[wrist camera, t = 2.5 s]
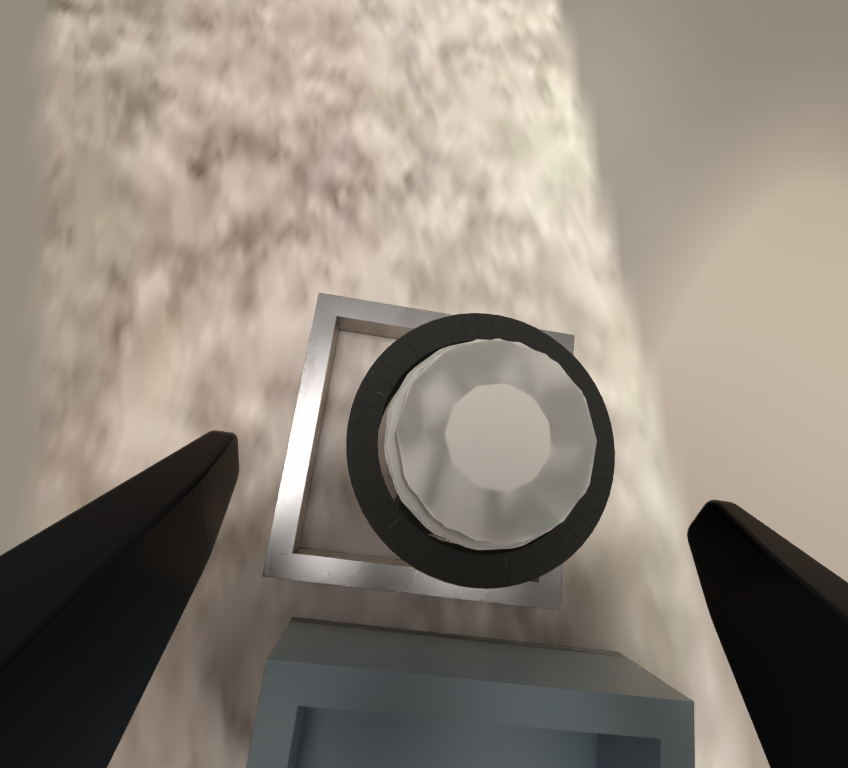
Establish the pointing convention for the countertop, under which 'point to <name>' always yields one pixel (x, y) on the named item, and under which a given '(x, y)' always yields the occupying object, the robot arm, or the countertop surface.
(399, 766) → the plastic bin
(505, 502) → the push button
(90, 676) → the robot arm
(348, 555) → the silver picture frame
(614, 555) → the countertop surface
